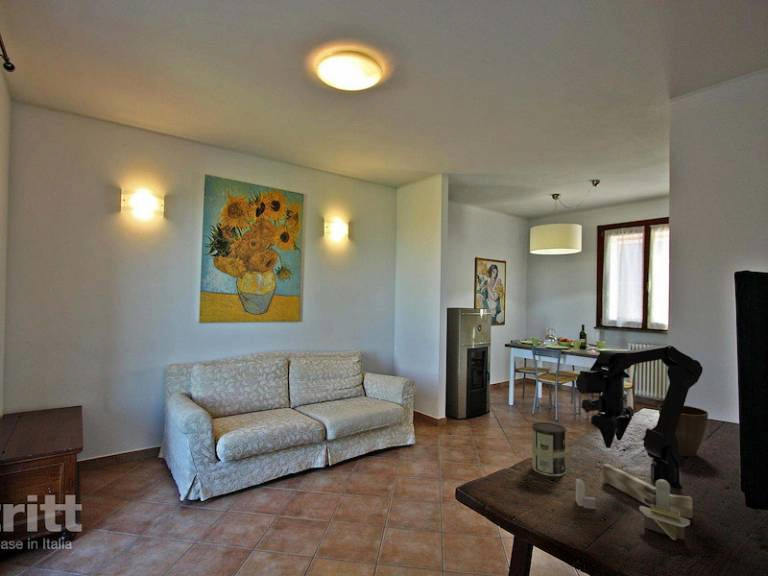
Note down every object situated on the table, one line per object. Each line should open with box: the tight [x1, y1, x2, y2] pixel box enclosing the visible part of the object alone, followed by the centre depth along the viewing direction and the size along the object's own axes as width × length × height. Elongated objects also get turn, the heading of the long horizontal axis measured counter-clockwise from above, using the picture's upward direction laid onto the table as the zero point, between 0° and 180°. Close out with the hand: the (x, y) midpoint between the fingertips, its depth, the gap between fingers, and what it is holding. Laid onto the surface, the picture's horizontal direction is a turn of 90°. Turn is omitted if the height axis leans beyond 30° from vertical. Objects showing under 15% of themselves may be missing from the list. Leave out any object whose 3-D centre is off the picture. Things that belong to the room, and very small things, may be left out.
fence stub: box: [670, 493, 694, 519], centre depth 104 cm, size 5×1×5 cm, turn 76°
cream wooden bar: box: [602, 463, 656, 509], centre depth 115 cm, size 17×2×5 cm, turn 16°
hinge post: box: [655, 479, 671, 514], centre depth 105 cm, size 3×3×9 cm
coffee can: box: [531, 421, 567, 477], centre depth 132 cm, size 10×10×14 cm
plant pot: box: [657, 404, 709, 457], centre depth 148 cm, size 15×15×16 cm
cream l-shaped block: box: [575, 478, 596, 510], centre depth 109 cm, size 4×4×6 cm
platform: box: [638, 504, 691, 541], centre depth 96 cm, size 12×18×7 cm, turn 50°
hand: (613, 443), depth 122 cm, fingers open, 9 cm apart
